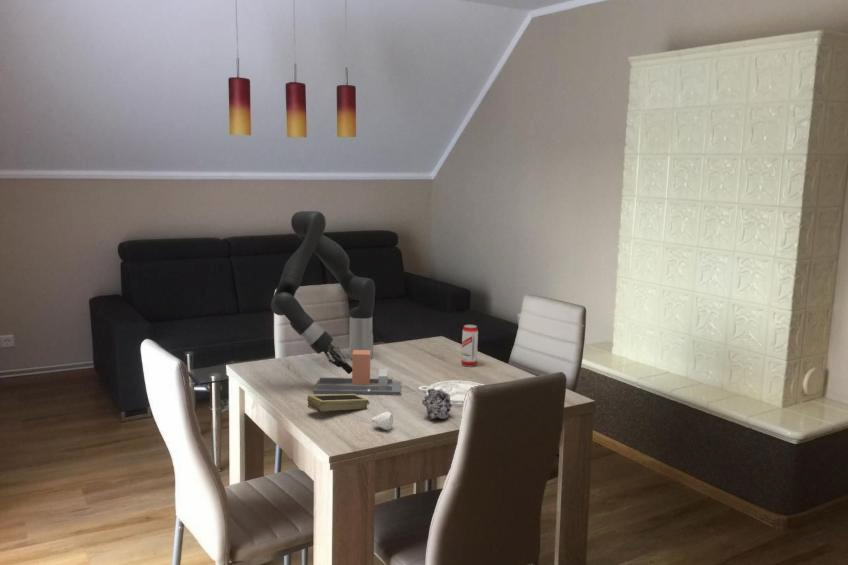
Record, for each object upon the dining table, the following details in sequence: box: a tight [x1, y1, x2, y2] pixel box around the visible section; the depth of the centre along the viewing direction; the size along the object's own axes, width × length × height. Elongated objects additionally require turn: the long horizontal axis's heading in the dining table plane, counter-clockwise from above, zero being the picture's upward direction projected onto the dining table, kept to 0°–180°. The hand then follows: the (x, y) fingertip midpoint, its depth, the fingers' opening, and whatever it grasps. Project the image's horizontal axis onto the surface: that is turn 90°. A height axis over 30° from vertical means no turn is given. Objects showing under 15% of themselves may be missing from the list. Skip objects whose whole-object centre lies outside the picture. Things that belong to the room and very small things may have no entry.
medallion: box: [418, 379, 484, 408], centre depth 252 cm, size 24×27×2 cm
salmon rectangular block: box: [351, 350, 371, 385], centre depth 254 cm, size 6×6×12 cm
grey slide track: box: [313, 368, 402, 396], centre depth 255 cm, size 30×12×6 cm, turn 92°
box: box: [307, 394, 370, 413], centre depth 234 cm, size 8×22×5 cm, turn 132°
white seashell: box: [371, 411, 394, 431], centre depth 218 cm, size 6×6×5 cm
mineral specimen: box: [421, 389, 453, 421], centre depth 230 cm, size 13×10×11 cm
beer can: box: [460, 324, 479, 368], centre depth 288 cm, size 6×6×16 cm
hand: (351, 371), depth 255 cm, fingers closed
